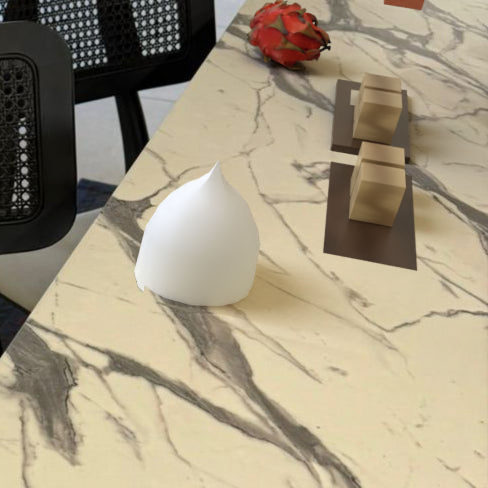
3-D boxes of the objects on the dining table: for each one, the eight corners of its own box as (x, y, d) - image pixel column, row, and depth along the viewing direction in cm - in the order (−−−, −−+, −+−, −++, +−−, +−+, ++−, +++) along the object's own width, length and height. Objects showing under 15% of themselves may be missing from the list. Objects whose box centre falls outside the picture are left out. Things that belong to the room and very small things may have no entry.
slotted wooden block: (405, 96, 135) (418, 56, 131) (408, 164, 119) (423, 120, 115) (336, 84, 136) (347, 44, 133) (330, 150, 120) (342, 106, 117)
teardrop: (251, 322, 91) (285, 197, 83) (128, 303, 92) (150, 178, 84) (252, 261, 99) (282, 142, 91) (138, 244, 100) (159, 125, 92)
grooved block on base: (409, 182, 115) (425, 137, 112) (414, 277, 99) (433, 229, 96) (328, 167, 116) (341, 123, 113) (320, 259, 100) (335, 211, 97)
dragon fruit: (236, 59, 145) (311, 95, 142) (227, 36, 137) (306, 73, 134) (269, 3, 143) (345, 38, 140) (262, -24, 135) (342, 12, 132)
